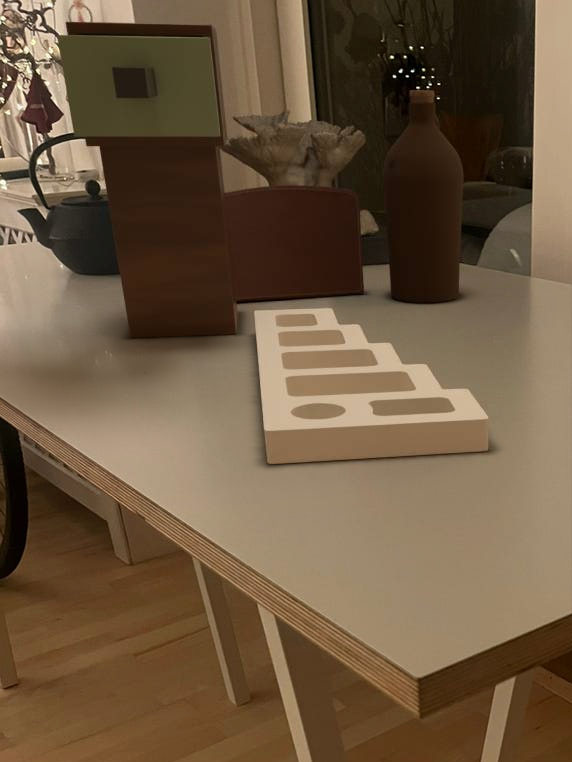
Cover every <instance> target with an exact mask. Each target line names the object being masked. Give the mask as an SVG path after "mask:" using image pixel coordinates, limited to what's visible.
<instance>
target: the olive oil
mask: <svg viewBox="0 0 572 762" xmlns="http://www.w3.org/2000/svg"><path fill="white" fill-rule="evenodd" d="M408 97H409V102H408V120H409V122H408V125H407V127H406V128H405V129H404V130H403V132H402V133H401V134H400V136H398V138H397V140H396V141H395V142H394V143H393V144H392V146H391V147H390V149H389V150H388V152H387V154H386V156H385V159H384V163H383V167H382V185H383V186H382V188H383V199H384V200H383V201H384V210H385V211H384V212H385V225H386V238H387V239H388V252H389V263H388V265H389V283H390V296H391V297H392V298H393V299H395V300H397V301H401V302H408V303H415V304H417V303H418V304H433V303H444V302H449V301H454V300H456V299H457V298H458V297H459V294H460V268H461V267H460V265H461V263H460V262H461V239H462V219H463V218H462V216H463V197H464V179H465V178H464V175H465V174H464V168H463V164H462V161H461V157H460V156H459V153H458V152H457V150H456V149H455V148H454V146H453V145H452V143H450V141H449V140H448V139H447V138H446V136H445V134H443V132H442V131H441V130H440V129H439V127H438V126H437V124H436V102H435V90H427V89H425V90H422V89H421V90H419V89H416V90H415V89H413V90H412V89H410V90H409V92H408Z"/></svg>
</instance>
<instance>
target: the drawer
mask: <svg viewBox="0 0 572 762" xmlns="http://www.w3.org/2000/svg"><path fill="white" fill-rule="evenodd" d="M56 38H57V44H58V51H59V56H60V61H61V67H62V72H63V73H62V74H63V78H64V86H65V90H66V96H67V103H68V107H69V114H70V119H71V124H72V131H73V136H74V137H85V136H151V137H220V126H219V117H218V108H217V98H216V89H215V80H214V70H213V61H212V52H211V43H210V38H198V37H141V36H84V35H68V34H57V35H56Z"/></svg>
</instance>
